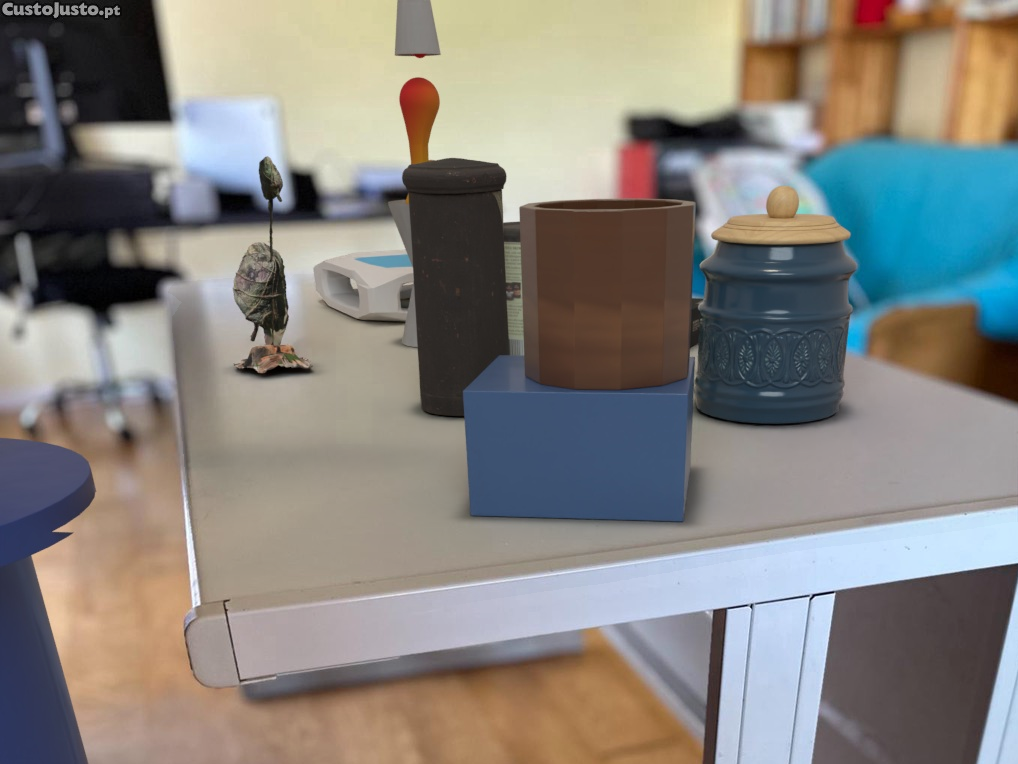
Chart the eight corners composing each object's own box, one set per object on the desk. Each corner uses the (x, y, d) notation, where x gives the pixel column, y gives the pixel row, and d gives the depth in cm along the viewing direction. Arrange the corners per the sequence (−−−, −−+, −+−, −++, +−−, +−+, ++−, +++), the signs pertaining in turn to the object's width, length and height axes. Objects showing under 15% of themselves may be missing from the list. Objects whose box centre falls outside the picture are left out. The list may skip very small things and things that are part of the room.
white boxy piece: (448, 290, 169) (446, 246, 166) (522, 313, 147) (521, 263, 144) (315, 301, 161) (310, 255, 158) (372, 327, 139) (367, 274, 136)
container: (532, 401, 101) (525, 155, 91) (482, 422, 94) (468, 159, 84) (453, 393, 104) (438, 156, 94) (399, 413, 97) (377, 160, 87)
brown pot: (513, 389, 68) (506, 211, 63) (541, 357, 77) (537, 199, 72) (683, 391, 67) (690, 209, 62) (691, 358, 76) (698, 197, 71)
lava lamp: (456, 349, 125) (432, -24, 107) (386, 345, 127) (352, -18, 110) (487, 336, 132) (470, -15, 114) (421, 333, 135) (394, -10, 117)
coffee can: (601, 369, 113) (601, 219, 106) (585, 390, 104) (584, 228, 97) (505, 367, 115) (499, 219, 108) (481, 388, 106) (473, 228, 99)
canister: (664, 412, 96) (671, 188, 87) (742, 387, 104) (756, 180, 96) (795, 434, 89) (817, 191, 80) (867, 405, 97) (894, 183, 88)
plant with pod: (305, 356, 123) (279, 154, 113) (318, 375, 113) (290, 156, 103) (231, 362, 120) (198, 156, 110) (238, 381, 111) (202, 158, 101)
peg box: (470, 515, 72) (458, 331, 66) (503, 466, 82) (496, 302, 76) (683, 521, 70) (690, 332, 64) (690, 470, 80) (697, 303, 74)
